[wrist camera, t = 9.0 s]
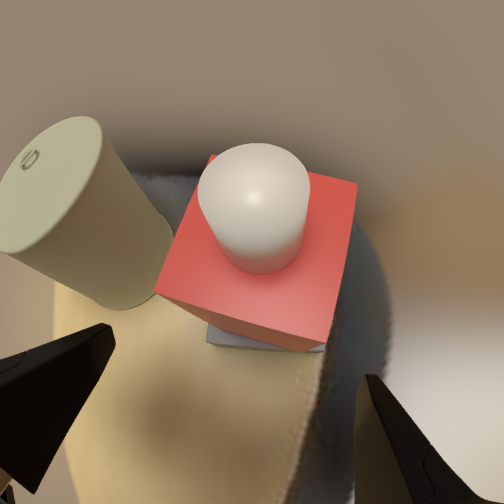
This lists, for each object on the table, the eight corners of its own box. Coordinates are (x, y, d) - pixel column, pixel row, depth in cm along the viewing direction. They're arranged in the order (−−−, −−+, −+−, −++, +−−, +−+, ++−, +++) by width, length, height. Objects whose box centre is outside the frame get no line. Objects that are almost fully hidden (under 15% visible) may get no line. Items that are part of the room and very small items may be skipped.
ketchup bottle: (301, 352, 16) (347, 334, 5) (219, 328, 17) (108, 262, 6) (322, 272, 18) (376, 129, 6) (244, 252, 18) (194, 100, 7)
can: (134, 191, 25) (67, 97, 14) (198, 247, 22) (129, 137, 11) (68, 262, 23) (-23, 196, 12) (120, 334, 20) (-2, 288, 9)
